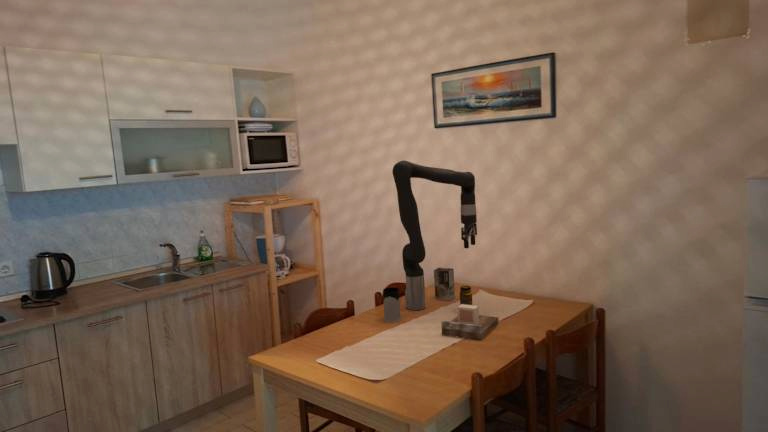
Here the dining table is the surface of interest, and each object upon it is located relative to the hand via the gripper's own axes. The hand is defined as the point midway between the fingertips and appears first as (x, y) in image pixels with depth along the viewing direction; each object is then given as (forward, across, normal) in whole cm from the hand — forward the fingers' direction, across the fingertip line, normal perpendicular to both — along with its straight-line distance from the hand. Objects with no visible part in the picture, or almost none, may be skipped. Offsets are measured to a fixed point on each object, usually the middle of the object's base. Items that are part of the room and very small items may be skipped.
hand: (469, 246), depth 254 cm
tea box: (+29, +27, +9) cm, 41 cm away
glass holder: (+32, +24, -31) cm, 51 cm away
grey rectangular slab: (+32, +25, +9) cm, 42 cm away
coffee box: (+32, -14, -21) cm, 41 cm away
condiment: (+32, +2, -3) cm, 33 cm away
